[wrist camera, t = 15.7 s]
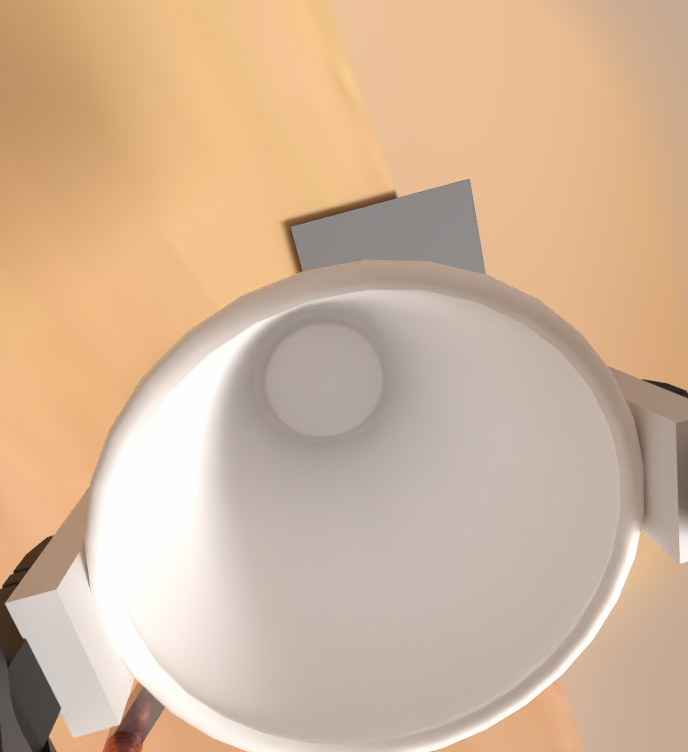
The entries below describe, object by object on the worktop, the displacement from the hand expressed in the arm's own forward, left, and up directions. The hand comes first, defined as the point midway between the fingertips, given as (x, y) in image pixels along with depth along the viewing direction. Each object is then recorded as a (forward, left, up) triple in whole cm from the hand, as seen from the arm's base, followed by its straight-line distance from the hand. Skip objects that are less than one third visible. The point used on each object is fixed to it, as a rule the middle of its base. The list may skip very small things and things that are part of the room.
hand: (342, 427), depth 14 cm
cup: (0, 0, -5) cm, 5 cm away
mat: (+1, +7, -21) cm, 22 cm away
